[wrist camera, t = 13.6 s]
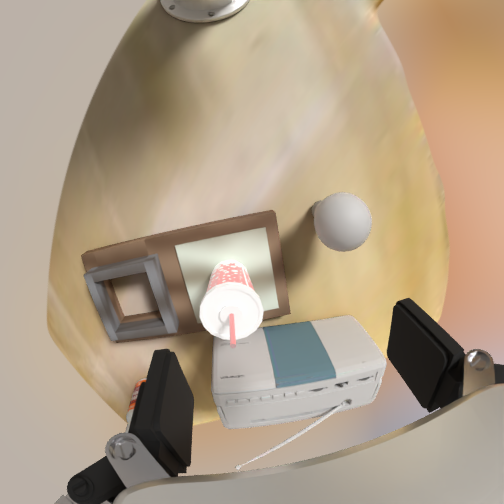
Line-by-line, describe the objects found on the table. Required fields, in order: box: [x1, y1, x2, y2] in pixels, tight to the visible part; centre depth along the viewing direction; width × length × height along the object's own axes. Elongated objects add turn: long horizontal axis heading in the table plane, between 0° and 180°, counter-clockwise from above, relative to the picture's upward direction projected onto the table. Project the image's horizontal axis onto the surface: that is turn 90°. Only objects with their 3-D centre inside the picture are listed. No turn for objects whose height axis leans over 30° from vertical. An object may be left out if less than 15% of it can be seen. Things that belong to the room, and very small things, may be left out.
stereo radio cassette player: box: [211, 315, 386, 470], centre depth 32 cm, size 21×8×20 cm, turn 94°
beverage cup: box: [200, 260, 264, 348], centre depth 28 cm, size 6×6×14 cm
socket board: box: [81, 210, 291, 343], centre depth 34 cm, size 14×26×4 cm, turn 100°
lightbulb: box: [312, 192, 372, 252], centre depth 30 cm, size 6×6×11 cm
